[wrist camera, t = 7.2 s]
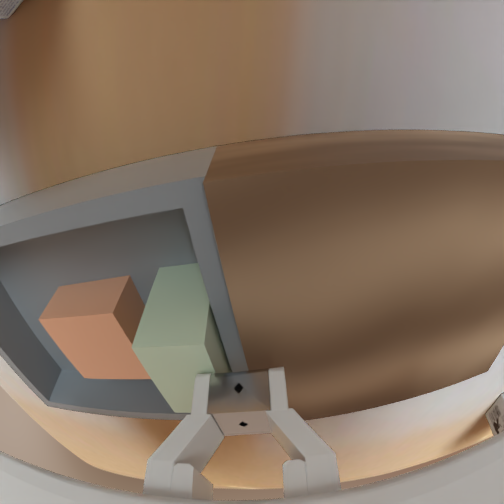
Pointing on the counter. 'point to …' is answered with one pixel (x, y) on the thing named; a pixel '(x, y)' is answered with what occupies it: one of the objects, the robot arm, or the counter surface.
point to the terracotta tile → (97, 327)
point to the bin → (106, 270)
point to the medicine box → (8, 7)
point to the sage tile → (179, 335)
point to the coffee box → (496, 416)
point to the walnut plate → (363, 260)
